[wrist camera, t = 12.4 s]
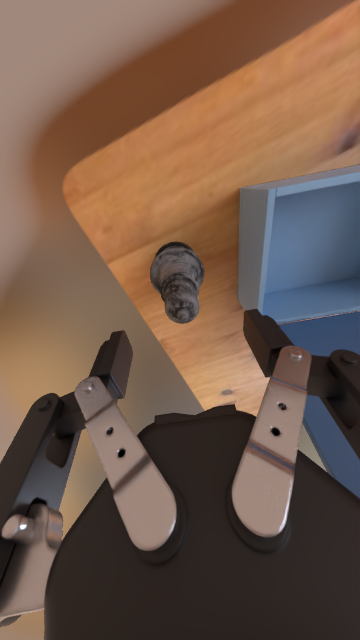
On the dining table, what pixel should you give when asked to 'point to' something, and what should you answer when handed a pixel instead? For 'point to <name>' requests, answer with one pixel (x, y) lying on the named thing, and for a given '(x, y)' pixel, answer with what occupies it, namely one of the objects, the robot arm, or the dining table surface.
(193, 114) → the dining table surface
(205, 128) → the dining table surface
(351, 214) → the blue rectangular open box
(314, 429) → the lid
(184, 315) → the chess piece
